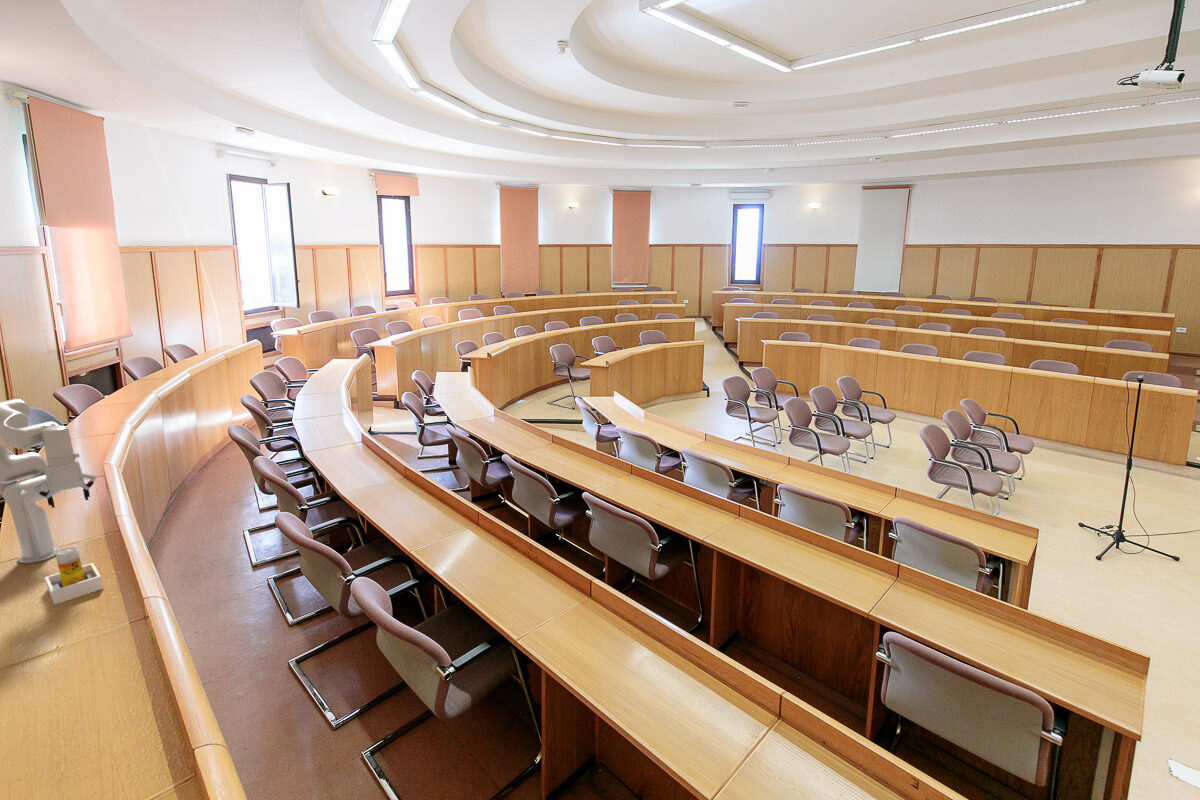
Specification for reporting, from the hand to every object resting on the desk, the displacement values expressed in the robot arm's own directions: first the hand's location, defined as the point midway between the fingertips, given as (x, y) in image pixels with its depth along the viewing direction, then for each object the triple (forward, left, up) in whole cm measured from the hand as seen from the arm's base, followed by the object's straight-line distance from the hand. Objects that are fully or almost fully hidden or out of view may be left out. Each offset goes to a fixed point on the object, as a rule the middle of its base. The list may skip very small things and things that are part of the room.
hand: (70, 502), depth 229 cm
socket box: (+16, -5, -27) cm, 32 cm away
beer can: (+16, -5, -27) cm, 32 cm away
